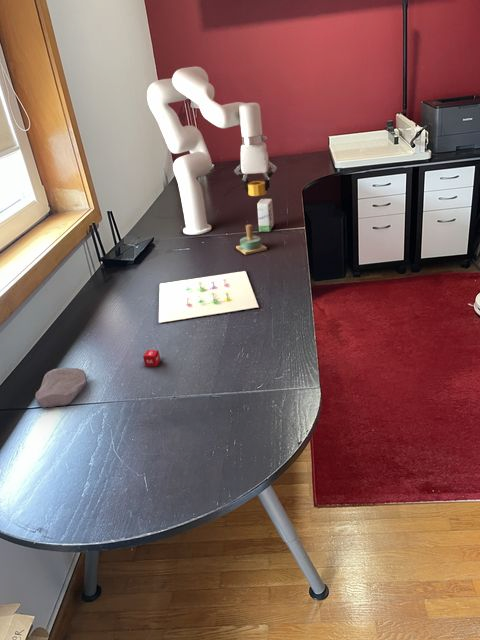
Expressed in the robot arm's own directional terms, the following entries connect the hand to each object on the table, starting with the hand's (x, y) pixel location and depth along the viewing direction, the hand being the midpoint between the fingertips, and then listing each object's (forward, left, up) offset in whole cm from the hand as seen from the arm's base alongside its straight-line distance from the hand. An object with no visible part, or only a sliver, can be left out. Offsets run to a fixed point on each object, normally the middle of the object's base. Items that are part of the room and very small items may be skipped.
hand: (257, 190), depth 193 cm
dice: (+66, -63, -21) cm, 94 cm away
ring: (0, 0, -1) cm, 1 cm away
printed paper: (+35, -37, -21) cm, 55 cm away
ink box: (-14, +9, -21) cm, 26 cm away
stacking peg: (+5, -7, -20) cm, 22 cm away
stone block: (+67, -85, -21) cm, 110 cm away
